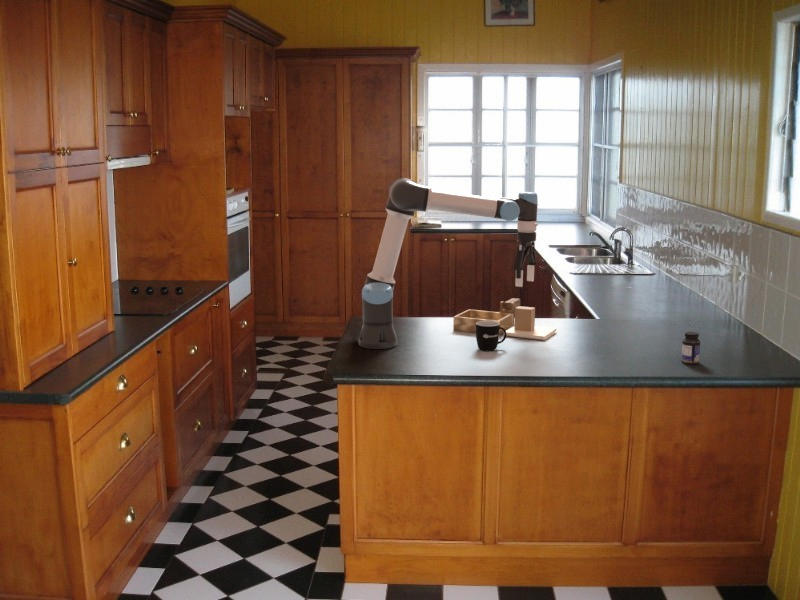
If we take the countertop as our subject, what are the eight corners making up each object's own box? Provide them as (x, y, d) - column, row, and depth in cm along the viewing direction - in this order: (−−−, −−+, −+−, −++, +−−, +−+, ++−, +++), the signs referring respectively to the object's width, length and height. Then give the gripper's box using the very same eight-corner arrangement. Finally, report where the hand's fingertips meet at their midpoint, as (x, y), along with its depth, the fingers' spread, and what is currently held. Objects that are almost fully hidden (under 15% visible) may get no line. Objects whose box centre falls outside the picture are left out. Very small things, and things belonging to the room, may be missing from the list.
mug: (479, 353, 332) (480, 326, 330) (472, 347, 340) (472, 321, 338) (510, 351, 334) (510, 324, 332) (502, 345, 343) (502, 319, 341)
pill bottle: (695, 360, 321) (697, 330, 318) (701, 364, 315) (703, 334, 312) (678, 360, 320) (680, 330, 318) (684, 365, 314) (686, 335, 312)
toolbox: (453, 330, 366) (453, 306, 364) (470, 321, 382) (470, 298, 380) (498, 335, 357) (499, 310, 355) (514, 326, 373) (514, 302, 371)
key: (504, 308, 374) (504, 302, 374) (513, 303, 384) (513, 297, 383) (512, 308, 373) (512, 303, 372) (521, 304, 382) (521, 298, 382)
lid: (503, 337, 357) (504, 310, 354) (516, 329, 370) (517, 303, 368) (544, 341, 349) (545, 314, 347) (556, 333, 363) (557, 306, 360)
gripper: (525, 235, 340) (523, 289, 344) (545, 228, 361) (543, 279, 366) (506, 233, 343) (504, 287, 347) (528, 227, 365) (526, 278, 369)
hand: (524, 283), depth 357 cm, fingers open, 13 cm apart
